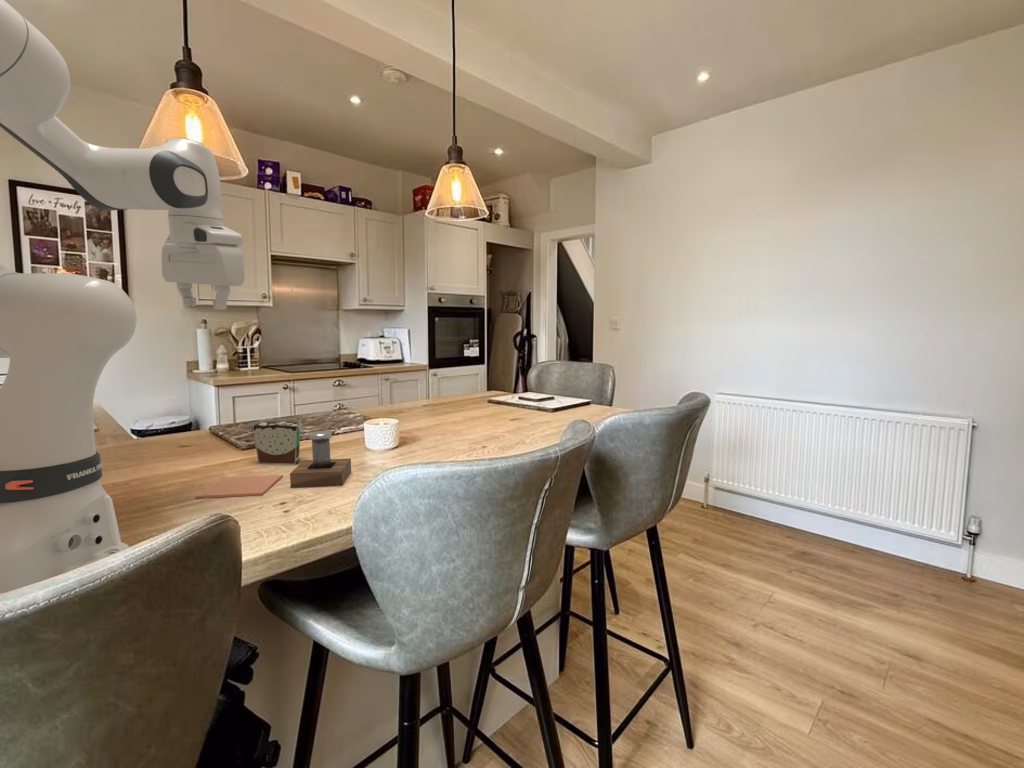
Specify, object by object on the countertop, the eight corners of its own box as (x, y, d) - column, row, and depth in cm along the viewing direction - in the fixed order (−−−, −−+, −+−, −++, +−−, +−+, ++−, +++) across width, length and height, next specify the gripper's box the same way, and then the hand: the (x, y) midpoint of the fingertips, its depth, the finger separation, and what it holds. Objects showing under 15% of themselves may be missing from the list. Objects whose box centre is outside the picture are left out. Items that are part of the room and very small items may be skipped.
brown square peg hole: (342, 485, 99) (341, 471, 99) (290, 487, 98) (289, 473, 98) (351, 471, 109) (350, 458, 109) (304, 473, 108) (304, 460, 108)
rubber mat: (262, 495, 94) (262, 492, 94) (195, 498, 92) (195, 496, 92) (282, 476, 105) (282, 474, 105) (223, 479, 104) (223, 477, 104)
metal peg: (331, 481, 102) (328, 435, 101) (309, 482, 101) (306, 435, 100) (335, 475, 106) (333, 430, 105) (314, 476, 106) (312, 431, 104)
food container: (314, 458, 121) (312, 418, 120) (301, 464, 115) (299, 423, 114) (267, 457, 122) (265, 417, 121) (252, 463, 116) (249, 422, 115)
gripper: (147, 233, 94) (156, 305, 97) (215, 232, 85) (222, 312, 88) (181, 236, 99) (188, 304, 102) (248, 236, 91) (253, 310, 94)
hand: (204, 308), depth 95 cm, fingers open, 8 cm apart
